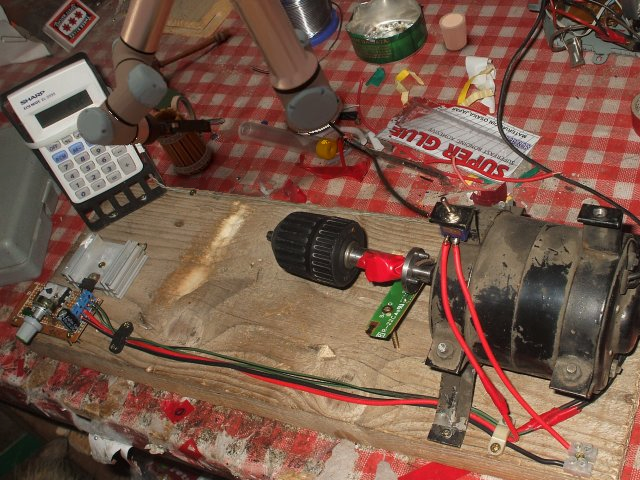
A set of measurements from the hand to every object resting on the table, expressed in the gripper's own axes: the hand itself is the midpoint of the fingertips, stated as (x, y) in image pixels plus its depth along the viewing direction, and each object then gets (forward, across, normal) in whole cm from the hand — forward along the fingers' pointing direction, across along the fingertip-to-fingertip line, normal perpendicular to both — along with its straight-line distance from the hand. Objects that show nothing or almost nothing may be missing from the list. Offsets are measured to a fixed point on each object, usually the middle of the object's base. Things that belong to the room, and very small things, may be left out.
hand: (185, 130), depth 162 cm
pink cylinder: (+25, -69, -15) cm, 75 cm away
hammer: (+31, +14, -22) cm, 41 cm away
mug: (+4, 0, +6) cm, 7 cm away
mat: (+22, +19, -12) cm, 31 cm away
